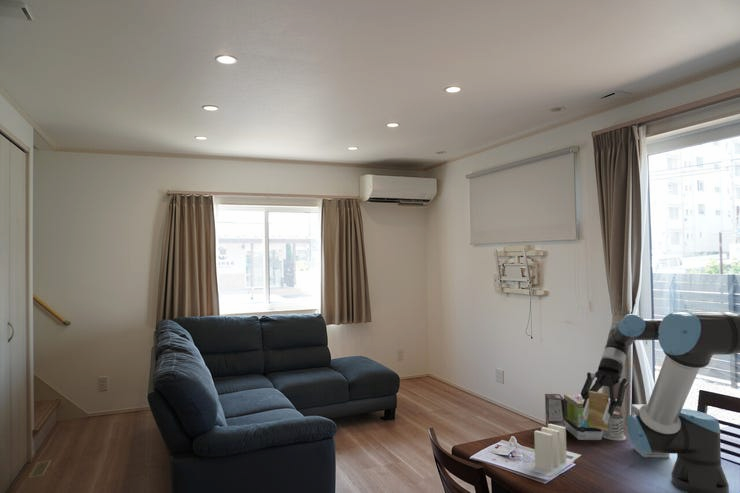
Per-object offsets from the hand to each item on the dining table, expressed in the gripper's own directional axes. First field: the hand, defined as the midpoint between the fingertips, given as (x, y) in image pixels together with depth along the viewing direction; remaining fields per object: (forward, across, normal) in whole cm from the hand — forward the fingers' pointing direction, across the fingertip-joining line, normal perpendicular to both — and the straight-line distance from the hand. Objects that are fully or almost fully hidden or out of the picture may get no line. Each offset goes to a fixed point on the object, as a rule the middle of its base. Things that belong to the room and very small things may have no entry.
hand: (594, 419), depth 164 cm
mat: (+14, +14, -12) cm, 23 cm away
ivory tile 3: (+19, +14, -6) cm, 25 cm away
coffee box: (-4, +26, -31) cm, 41 cm away
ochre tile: (0, 0, -5) cm, 5 cm away
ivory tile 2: (+15, +14, -10) cm, 23 cm away
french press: (-16, +9, -43) cm, 47 cm away
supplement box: (-10, -7, -37) cm, 39 cm away
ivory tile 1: (+12, +14, -14) cm, 23 cm away
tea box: (-11, +20, -38) cm, 44 cm away
